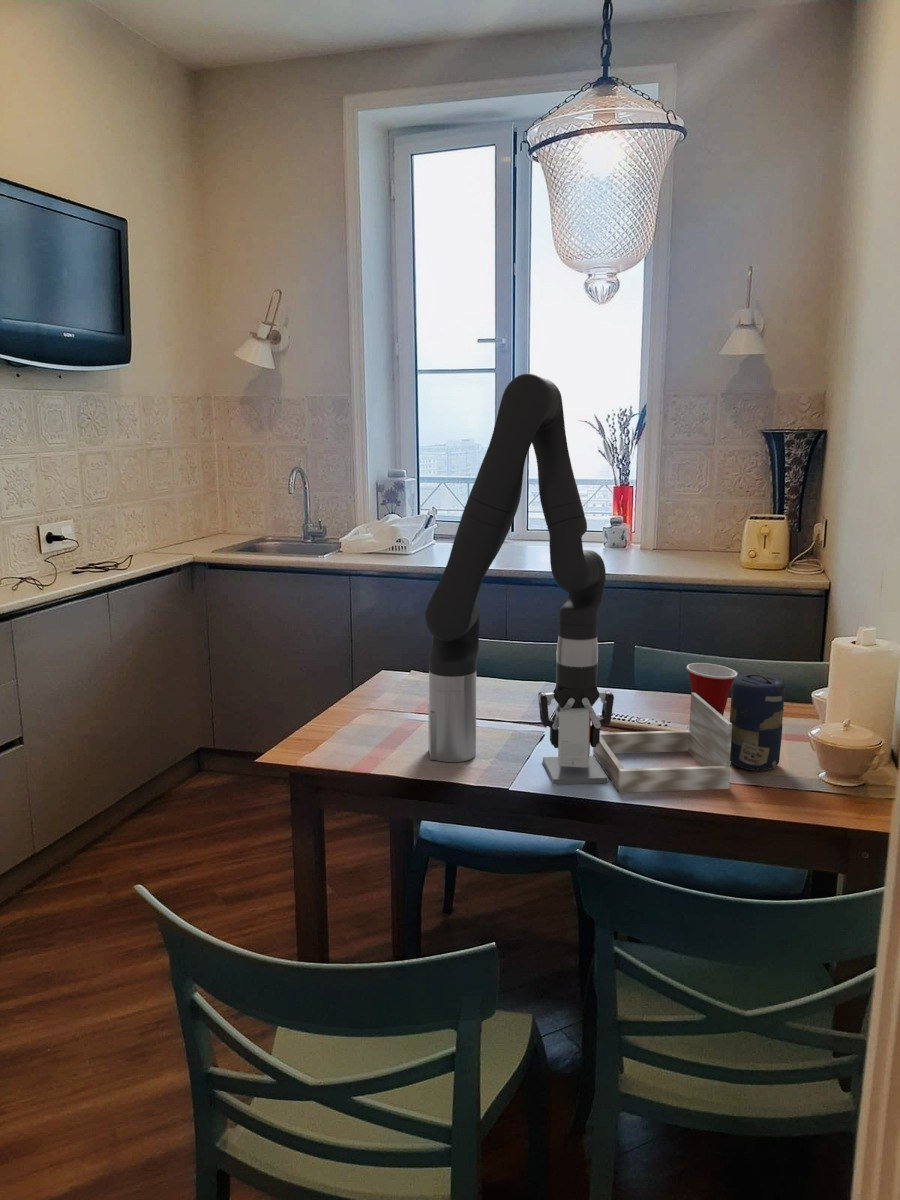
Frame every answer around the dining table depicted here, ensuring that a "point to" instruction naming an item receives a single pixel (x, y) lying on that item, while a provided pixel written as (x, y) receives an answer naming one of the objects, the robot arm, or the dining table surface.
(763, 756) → the canister
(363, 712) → the dining table surface
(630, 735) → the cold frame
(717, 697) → the plastic cup
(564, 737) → the small box
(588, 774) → the slate tile
